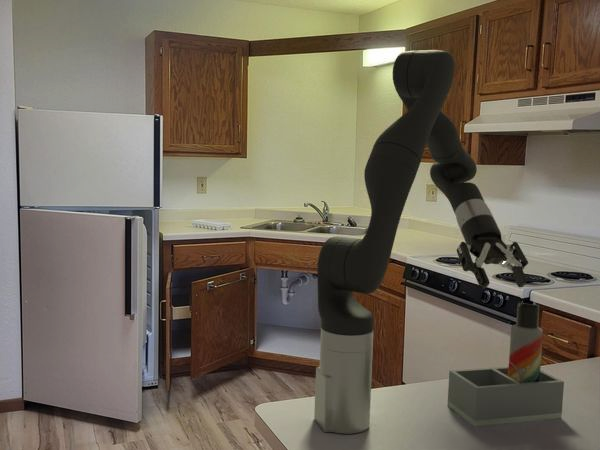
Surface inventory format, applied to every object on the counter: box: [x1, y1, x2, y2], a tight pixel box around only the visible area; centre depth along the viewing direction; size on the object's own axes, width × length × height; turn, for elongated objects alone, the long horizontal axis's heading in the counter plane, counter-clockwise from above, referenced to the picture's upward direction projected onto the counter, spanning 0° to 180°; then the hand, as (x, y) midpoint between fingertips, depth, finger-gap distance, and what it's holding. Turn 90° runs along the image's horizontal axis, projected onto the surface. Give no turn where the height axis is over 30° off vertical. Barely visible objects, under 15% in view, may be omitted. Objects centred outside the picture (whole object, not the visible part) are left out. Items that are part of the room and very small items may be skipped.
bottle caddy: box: [447, 366, 565, 427], centre depth 112 cm, size 18×10×7 cm, turn 105°
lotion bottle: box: [507, 302, 544, 383], centre depth 113 cm, size 6×6×20 cm
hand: (504, 285), depth 120 cm, fingers open, 8 cm apart
